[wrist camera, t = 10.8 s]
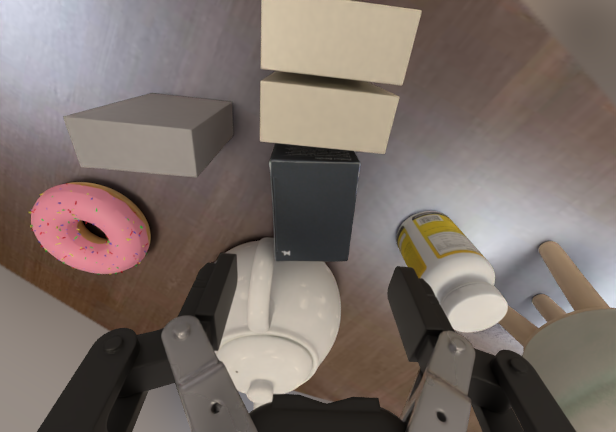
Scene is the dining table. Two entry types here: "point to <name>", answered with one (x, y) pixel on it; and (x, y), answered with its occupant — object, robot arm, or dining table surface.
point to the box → (313, 202)
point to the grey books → (152, 134)
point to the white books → (332, 71)
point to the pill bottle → (452, 270)
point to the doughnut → (98, 211)
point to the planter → (572, 345)
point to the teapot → (278, 322)
